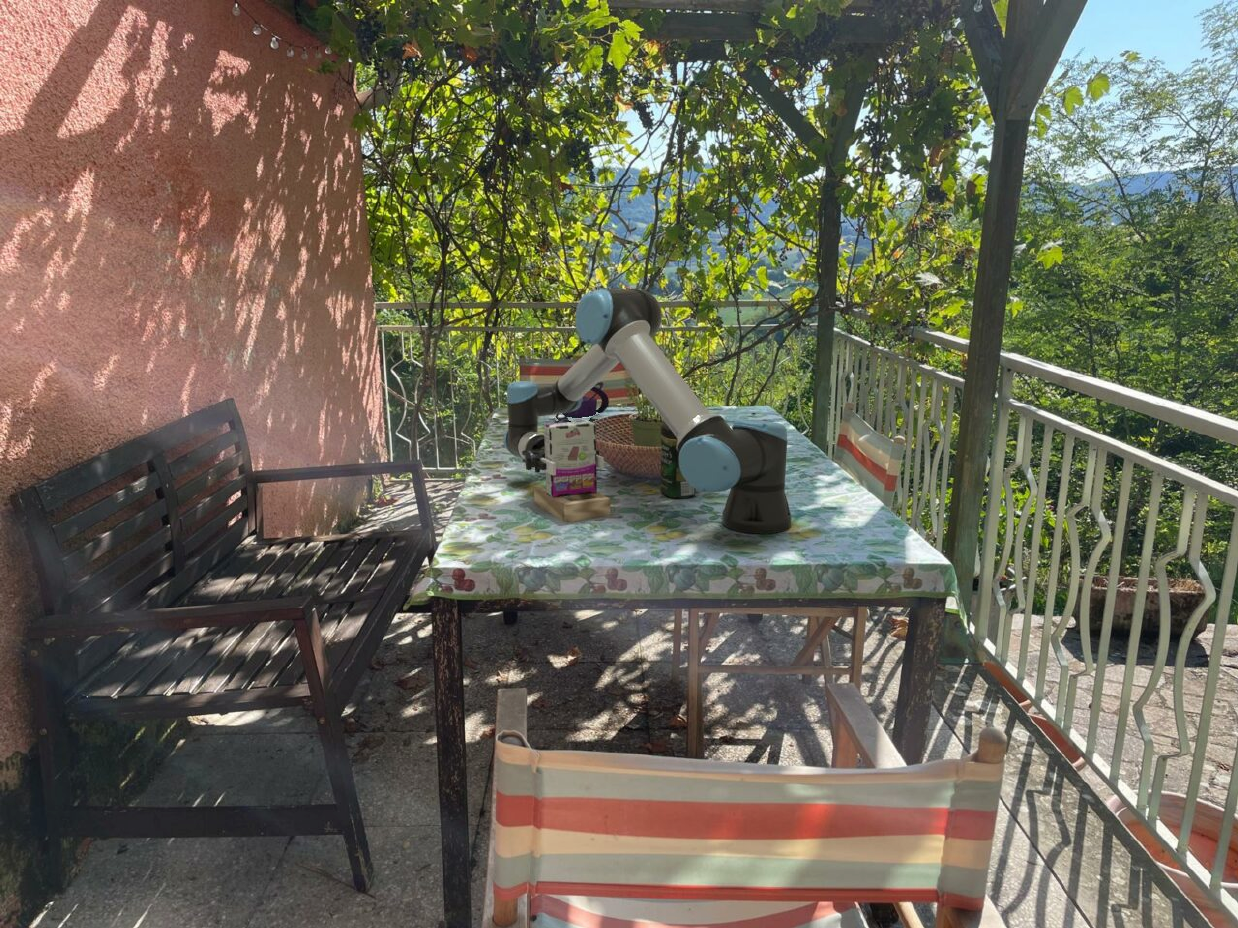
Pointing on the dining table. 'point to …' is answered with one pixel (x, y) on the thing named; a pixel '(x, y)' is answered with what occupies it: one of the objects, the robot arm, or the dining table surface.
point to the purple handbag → (588, 401)
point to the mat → (561, 522)
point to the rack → (573, 505)
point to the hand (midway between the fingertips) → (578, 466)
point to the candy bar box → (571, 458)
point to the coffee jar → (672, 467)
